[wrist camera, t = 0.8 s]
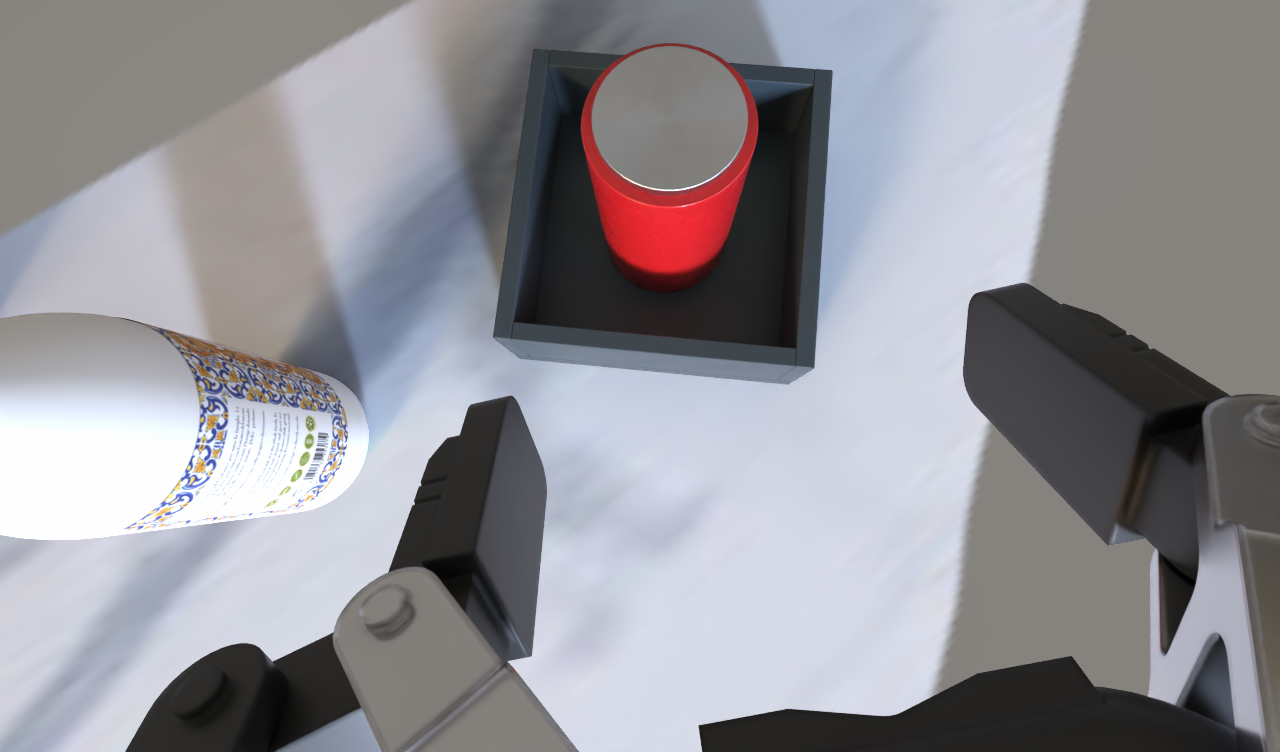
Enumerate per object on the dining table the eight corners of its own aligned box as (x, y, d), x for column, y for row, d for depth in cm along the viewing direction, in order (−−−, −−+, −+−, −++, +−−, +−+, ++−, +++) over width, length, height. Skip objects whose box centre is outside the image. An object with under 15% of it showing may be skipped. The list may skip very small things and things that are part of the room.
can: (599, 287, 30) (569, 194, 20) (613, 174, 31) (590, 28, 20) (720, 298, 30) (753, 209, 19) (730, 184, 30) (767, 40, 20)
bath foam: (374, 367, 31) (-143, 189, 11) (374, 506, 30) (-199, 588, 10) (240, 377, 31) (-509, 217, 11) (235, 515, 30) (-603, 612, 10)
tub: (519, 358, 30) (492, 338, 26) (552, 111, 32) (533, 48, 27) (788, 384, 30) (814, 368, 25) (805, 131, 32) (832, 69, 27)
